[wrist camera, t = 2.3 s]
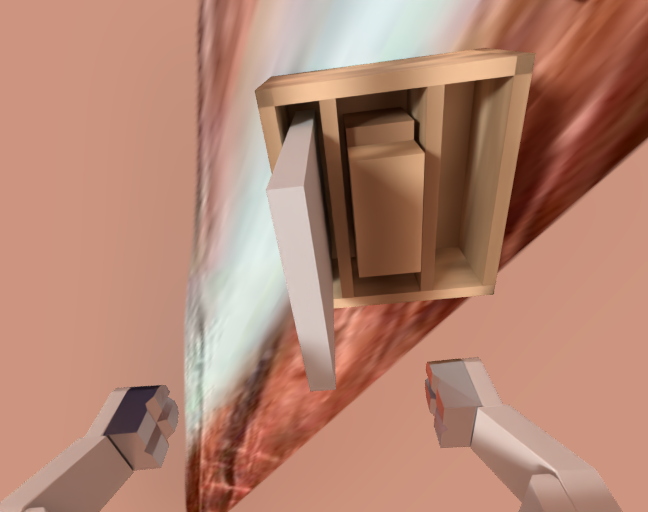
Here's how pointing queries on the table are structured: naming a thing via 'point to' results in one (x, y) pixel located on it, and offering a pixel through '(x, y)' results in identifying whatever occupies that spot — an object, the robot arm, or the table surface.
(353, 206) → the offcut top
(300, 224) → the sheet
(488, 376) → the robot arm
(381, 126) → the offcut low
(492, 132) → the rack
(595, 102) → the table surface
